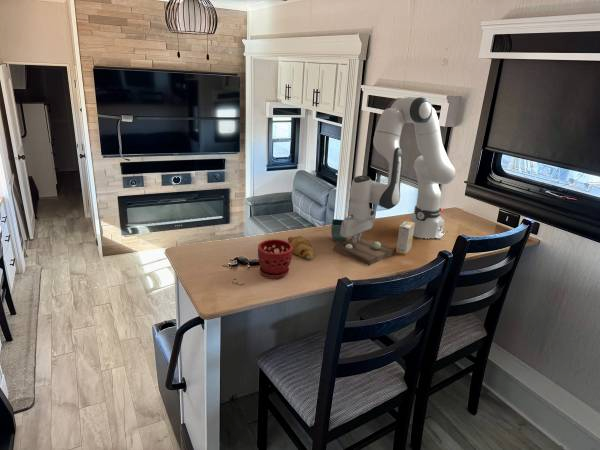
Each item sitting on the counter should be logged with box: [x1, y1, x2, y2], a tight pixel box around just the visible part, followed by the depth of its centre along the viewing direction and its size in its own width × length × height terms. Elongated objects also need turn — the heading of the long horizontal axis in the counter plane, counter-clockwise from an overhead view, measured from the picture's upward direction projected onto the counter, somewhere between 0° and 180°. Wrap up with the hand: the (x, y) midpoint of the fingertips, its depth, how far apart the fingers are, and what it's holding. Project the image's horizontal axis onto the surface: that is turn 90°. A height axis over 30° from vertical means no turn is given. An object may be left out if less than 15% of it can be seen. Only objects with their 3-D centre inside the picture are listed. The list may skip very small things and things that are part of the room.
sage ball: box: [373, 241, 382, 249], centre depth 182 cm, size 3×3×3 cm
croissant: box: [287, 235, 314, 260], centre depth 181 cm, size 21×10×8 cm, turn 28°
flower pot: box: [330, 218, 348, 243], centre depth 196 cm, size 9×9×9 cm
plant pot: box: [257, 238, 293, 279], centre depth 159 cm, size 13×13×12 cm
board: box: [332, 236, 395, 267], centre depth 184 cm, size 18×20×2 cm
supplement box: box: [395, 220, 415, 256], centre depth 186 cm, size 8×5×13 cm, turn 149°
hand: (355, 241), depth 187 cm, fingers closed
